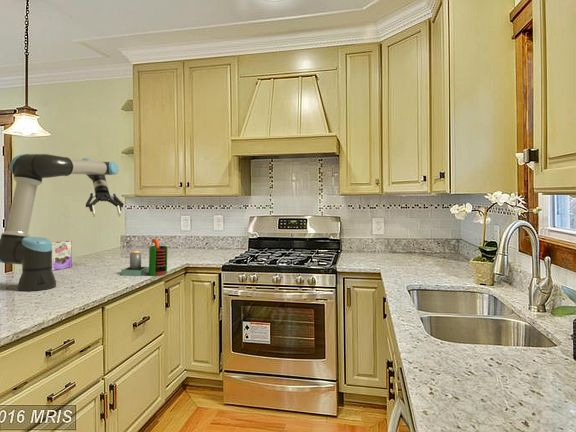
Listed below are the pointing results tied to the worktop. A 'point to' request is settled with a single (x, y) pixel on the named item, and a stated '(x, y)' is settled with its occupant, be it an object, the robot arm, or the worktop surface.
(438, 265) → the worktop surface
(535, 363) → the worktop surface
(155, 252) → the motor
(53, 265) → the candy box
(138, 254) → the grey cylindrical canister
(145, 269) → the teal square tray
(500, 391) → the worktop surface
